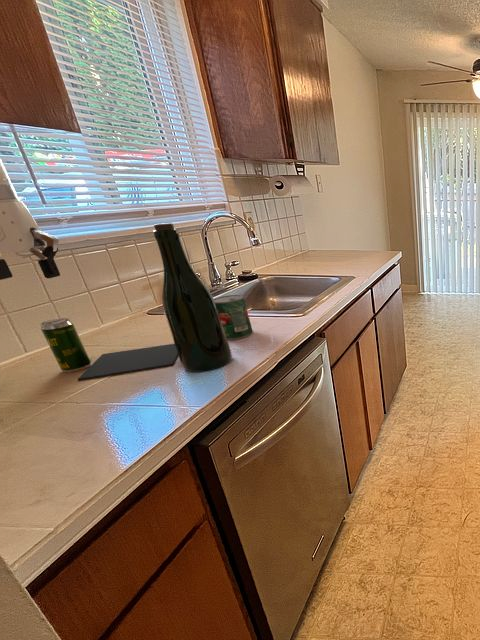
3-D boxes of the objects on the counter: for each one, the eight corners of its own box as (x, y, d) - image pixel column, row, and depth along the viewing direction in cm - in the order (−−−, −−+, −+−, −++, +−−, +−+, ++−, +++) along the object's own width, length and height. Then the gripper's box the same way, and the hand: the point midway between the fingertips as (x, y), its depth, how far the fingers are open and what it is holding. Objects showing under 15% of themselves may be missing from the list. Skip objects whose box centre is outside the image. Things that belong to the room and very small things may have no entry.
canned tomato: (216, 339, 114) (204, 301, 109) (236, 329, 121) (225, 294, 116) (240, 340, 113) (229, 302, 108) (259, 330, 120) (249, 295, 115)
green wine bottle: (186, 360, 100) (137, 222, 87) (233, 352, 105) (194, 220, 91) (180, 376, 92) (125, 227, 78) (232, 367, 96) (189, 223, 83)
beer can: (82, 362, 100) (61, 317, 95) (97, 364, 99) (76, 318, 94) (56, 371, 96) (32, 324, 91) (71, 374, 94) (48, 326, 89)
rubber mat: (78, 380, 91) (77, 378, 91) (103, 355, 104) (102, 353, 104) (172, 365, 98) (172, 363, 98) (184, 343, 111) (184, 342, 111)
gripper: (-80, 195, 77) (-32, 283, 84) (19, 194, 79) (57, 280, 86) (-39, 194, 84) (2, 275, 91) (52, 193, 86) (85, 273, 93)
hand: (29, 277), depth 88 cm, fingers open, 9 cm apart
